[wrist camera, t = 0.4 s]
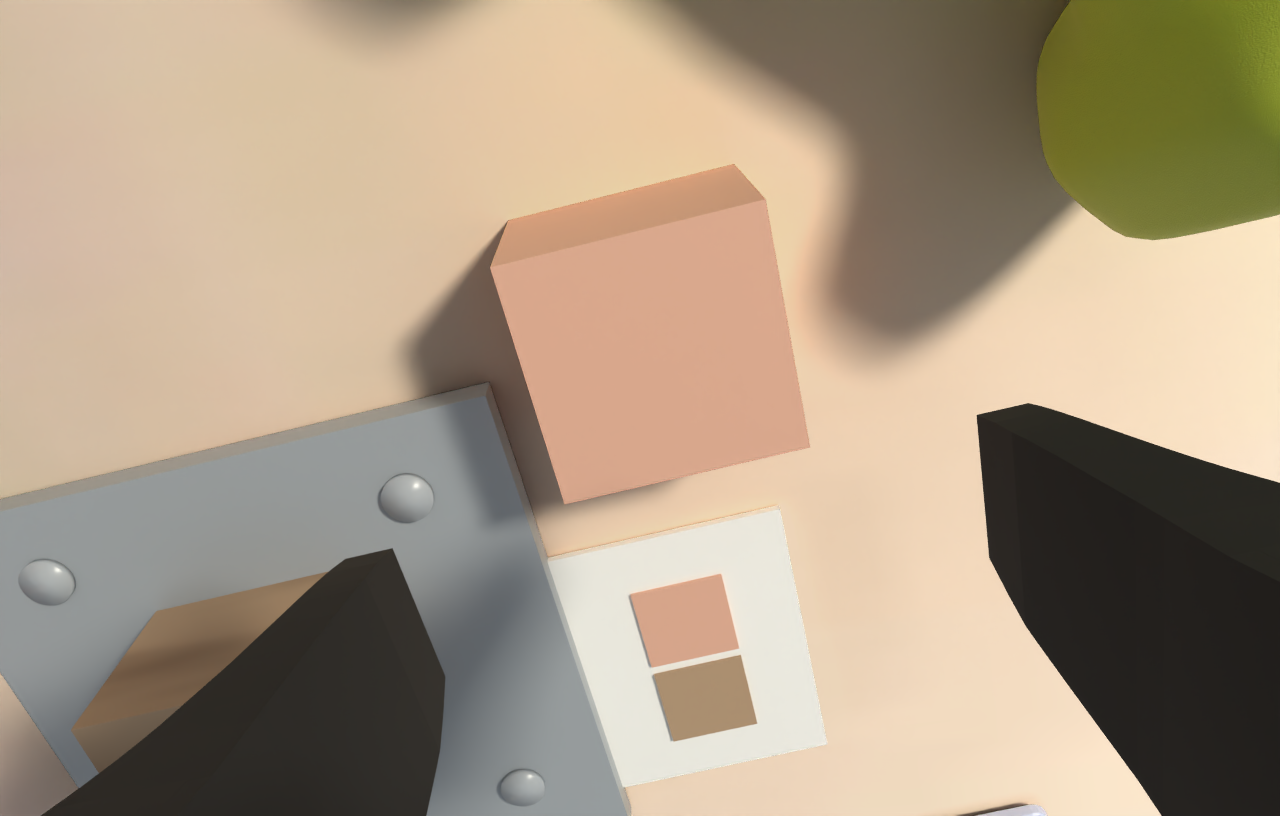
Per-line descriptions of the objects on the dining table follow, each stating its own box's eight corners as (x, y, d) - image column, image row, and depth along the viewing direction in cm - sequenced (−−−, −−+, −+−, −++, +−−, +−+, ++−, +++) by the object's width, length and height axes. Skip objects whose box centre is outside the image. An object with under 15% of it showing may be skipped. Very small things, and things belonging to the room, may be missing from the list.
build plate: (631, 806, 27) (632, 834, 26) (183, 901, 28) (168, 932, 27) (489, 381, 21) (484, 399, 20) (-71, 516, 22) (-100, 538, 21)
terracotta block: (772, 372, 22) (810, 447, 18) (569, 420, 22) (564, 504, 18) (733, 162, 20) (765, 199, 16) (508, 218, 20) (489, 267, 16)
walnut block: (418, 719, 24) (387, 847, 20) (239, 758, 24) (177, 892, 21) (350, 566, 22) (301, 678, 18) (156, 611, 22) (70, 730, 19)
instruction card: (825, 738, 26) (828, 746, 26) (623, 782, 26) (623, 790, 26) (778, 505, 23) (781, 511, 23) (547, 557, 23) (547, 564, 23)
